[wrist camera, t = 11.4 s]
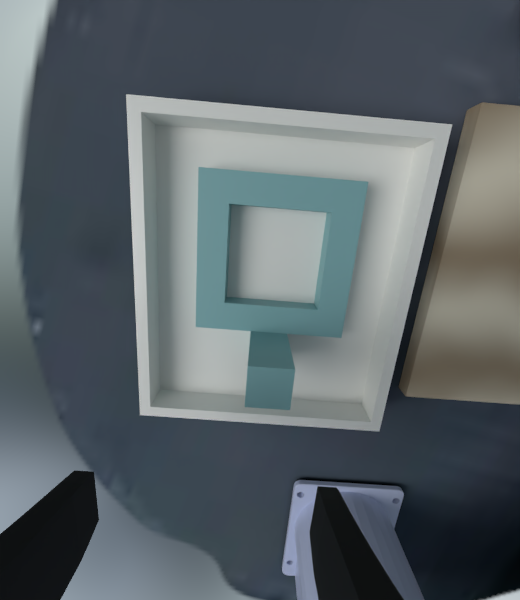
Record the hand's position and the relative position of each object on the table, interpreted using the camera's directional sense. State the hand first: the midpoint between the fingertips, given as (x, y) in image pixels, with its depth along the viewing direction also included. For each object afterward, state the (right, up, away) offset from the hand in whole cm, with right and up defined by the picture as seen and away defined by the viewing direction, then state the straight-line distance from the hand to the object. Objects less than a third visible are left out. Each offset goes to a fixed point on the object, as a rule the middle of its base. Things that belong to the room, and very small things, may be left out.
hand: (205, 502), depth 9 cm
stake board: (+17, +8, +7) cm, 21 cm away
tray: (+2, +8, +8) cm, 11 cm away
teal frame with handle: (+3, +8, +7) cm, 11 cm away
